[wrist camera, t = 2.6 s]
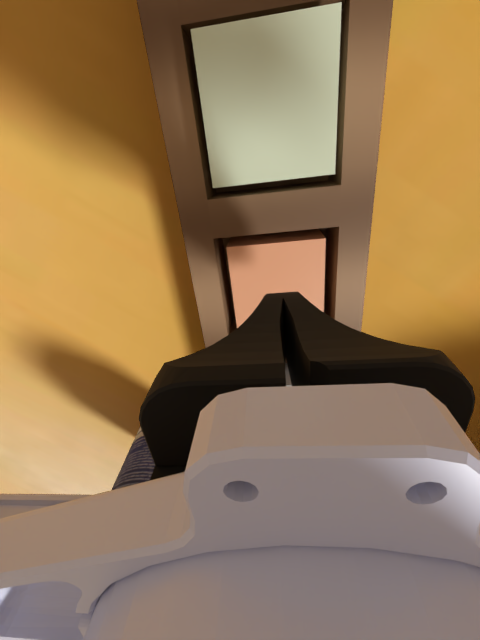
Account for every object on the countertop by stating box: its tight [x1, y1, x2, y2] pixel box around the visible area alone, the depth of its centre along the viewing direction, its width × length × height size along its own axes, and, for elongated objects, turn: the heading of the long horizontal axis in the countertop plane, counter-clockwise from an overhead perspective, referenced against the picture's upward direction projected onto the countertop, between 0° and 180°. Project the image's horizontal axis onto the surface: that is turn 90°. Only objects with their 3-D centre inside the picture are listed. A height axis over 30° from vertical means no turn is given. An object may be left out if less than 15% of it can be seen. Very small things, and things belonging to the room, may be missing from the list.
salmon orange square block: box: [226, 229, 326, 328], centre depth 15 cm, size 4×4×2 cm
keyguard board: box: [137, 0, 393, 363], centre depth 14 cm, size 29×8×3 cm, turn 6°
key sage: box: [191, 2, 342, 188], centre depth 11 cm, size 4×4×2 cm
